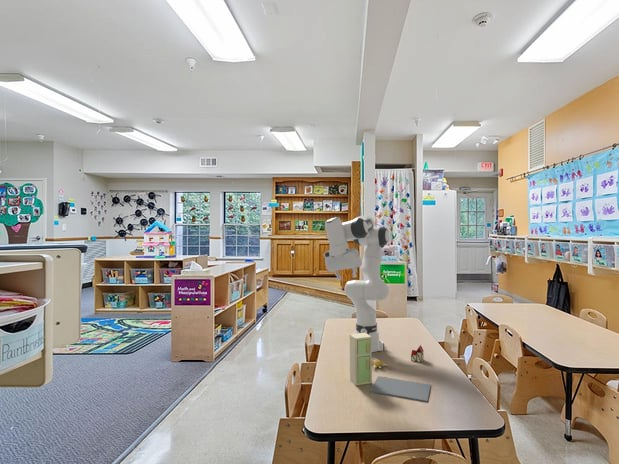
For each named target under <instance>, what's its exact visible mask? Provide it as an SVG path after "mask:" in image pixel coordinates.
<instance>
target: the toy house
mask: <svg viewBox="0 0 619 464" xmlns="http://www.w3.org/2000/svg"><path fill="white" fill-rule="evenodd" d="M424 351H425V350H424V349H423V347H422V344H420V345H419V346H418V348H417V350H415V349H412V350H411V354H410V361H413V362H418V363H422V362H423V361H424V360H425V358H424V357H425V356H424V354H425V353H424Z"/></svg>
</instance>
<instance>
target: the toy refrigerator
mask: <svg viewBox="0 0 619 464" xmlns="http://www.w3.org/2000/svg"><path fill="white" fill-rule="evenodd" d="M372 353H373V352H372V346H371V336H370V335H368V334H367V333H356V334H354V333H350V334H349V374H350V375H349V377H350V381H351V382H352V383H353V384H354V386H363V385H370V384H372V382H373V375H372V374H373V365H372V359H373V358H372Z"/></svg>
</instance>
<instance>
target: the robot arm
mask: <svg viewBox="0 0 619 464" xmlns="http://www.w3.org/2000/svg"><path fill="white" fill-rule="evenodd" d="M324 223H325V226H324V227H325V233H326V238H327V240H328V242H329V250H326V252H324V253H323V257H324V263H325V264H324V265H325V268H326V270H327V272H333V273H334V275H335V276H336V279H337V280H341V279H343V278H342V275H341V274H340V273H339V271H341V270H342V271H343V270H350V269H351V270H352V273H351V277H352V278H357V277H358V276H357V271H358V268H360V272H361V274H362V275H363V276H364V277H365V278H367V280H362V279H359V280H358V279H354V280H348V281H347V282H346V283H345V285H344V289H343V290H344V294H345V295H346V297H347V298H348V299H349V300H351V302H352V304H353V305H354V308H355V314H356V323H355V331H354V332H353V334H356V333H367V334H368V335H370V336H371V346H372V353H375V352H381V351H384V341H383V340H381V339H380V332H378V322H377V311H376V309H375V308H374V307H373V306H371V305H370V304H369V303H368V302H367V301H375V302H378V301H385V300H386V299H387V298H388V296H389V294H390V289H389V286H388V285H387V283H386V282H385V281H383V280H382V277H381V265H382V254H383V252H382V249H383V248H384V247H385V246H386V245H387V244H388V243H389V241H390V233H389V230H388V228H386V227H383V226H379V227H377V226H375V225H376V223H375V220H374V218H372V216H369V215H359V216H357V217H355V218H354V219H352V220H348V221H344V222H342V220H341V217H339V216H337V217H335V216H334V217H332V218H329V219H327V220H326V221H325V222H324ZM350 241H353V243H354V244H355V245H356V246H361V247H362V246H366V248H365V250H364V253H363V257H361V255H360V252H359V250H358V248H355V247H352V248H350V247H349V243H348V242H350Z"/></svg>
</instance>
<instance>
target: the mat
mask: <svg viewBox="0 0 619 464" xmlns="http://www.w3.org/2000/svg"><path fill="white" fill-rule="evenodd" d="M431 387H432V384H430V383H423V382H418V381H413V380H412V381H410V380H406V379H400V378H399V379H397V378H392V377H385V376H380V375H378V376H377V377H376V379H375V381H374V383H373V384H372V386H371V388H370V390H369V392H370V393H375V394H379V395H385V396H390V397H396V398H401V399H408V400H412V401H413V400H414V401H418V402H424V403H428V401H429V395H430V392H431V391H430V390H431Z"/></svg>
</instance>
